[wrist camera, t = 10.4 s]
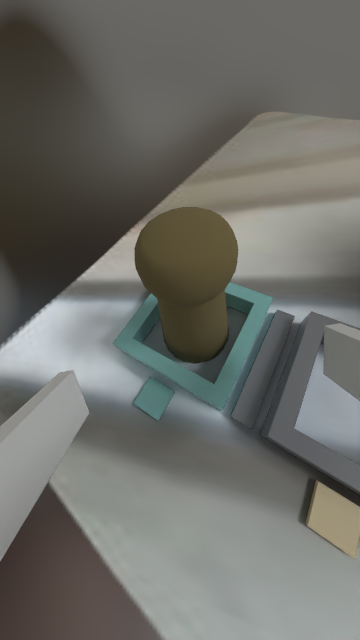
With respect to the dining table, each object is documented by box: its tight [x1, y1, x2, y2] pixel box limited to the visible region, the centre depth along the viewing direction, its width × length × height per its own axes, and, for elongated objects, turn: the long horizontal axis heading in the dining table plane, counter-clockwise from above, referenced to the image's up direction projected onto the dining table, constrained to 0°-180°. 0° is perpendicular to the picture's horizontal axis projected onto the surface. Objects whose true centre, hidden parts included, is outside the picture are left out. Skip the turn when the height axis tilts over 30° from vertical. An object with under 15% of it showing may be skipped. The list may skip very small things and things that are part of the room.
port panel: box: [113, 282, 360, 560], centre depth 15 cm, size 13×23×2 cm, turn 59°
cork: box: [135, 207, 238, 364], centre depth 13 cm, size 6×6×11 cm
